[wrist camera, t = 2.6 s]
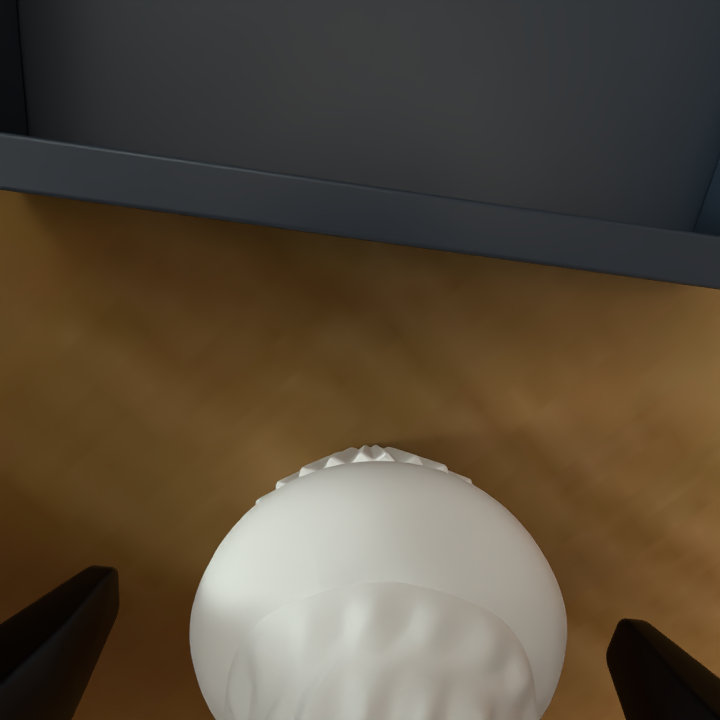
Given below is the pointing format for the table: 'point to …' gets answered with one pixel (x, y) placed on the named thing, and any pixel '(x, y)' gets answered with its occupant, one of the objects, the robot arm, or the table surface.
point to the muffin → (378, 601)
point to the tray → (384, 121)
